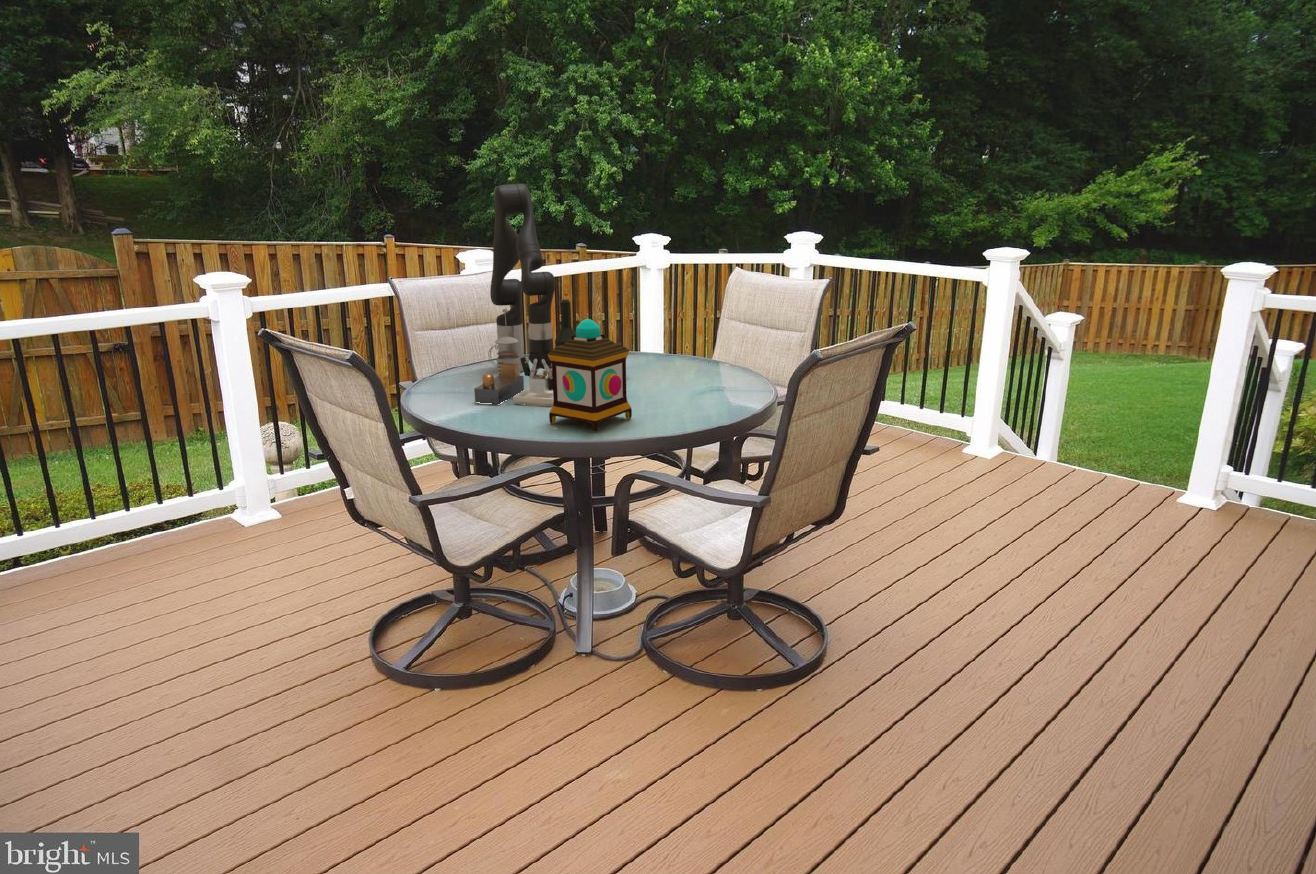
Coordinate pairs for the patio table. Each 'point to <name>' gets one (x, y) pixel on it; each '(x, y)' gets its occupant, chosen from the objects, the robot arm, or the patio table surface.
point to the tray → (534, 398)
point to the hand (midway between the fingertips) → (543, 389)
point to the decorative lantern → (589, 377)
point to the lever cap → (539, 383)
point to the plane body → (500, 385)
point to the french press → (507, 353)
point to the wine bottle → (565, 324)
